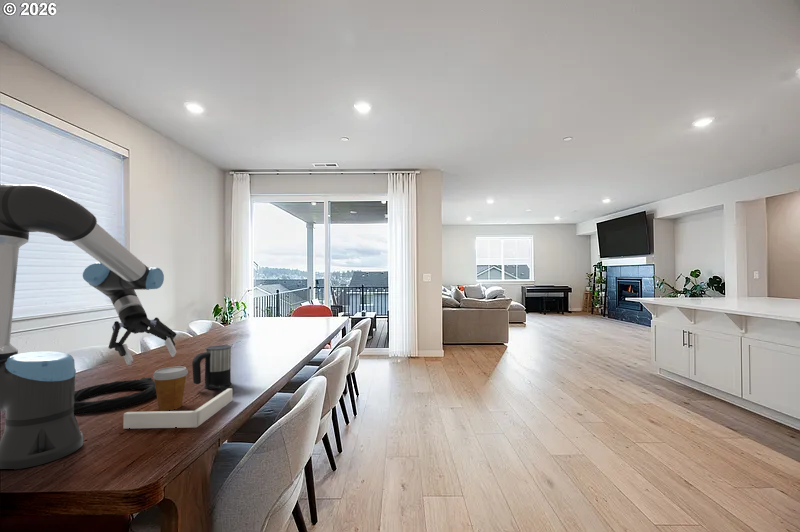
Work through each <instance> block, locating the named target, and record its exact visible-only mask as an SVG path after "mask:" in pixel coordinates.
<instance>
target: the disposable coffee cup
mask: <svg viewBox="0 0 800 532" xmlns="http://www.w3.org/2000/svg"><path fill="white" fill-rule="evenodd" d="M188 371H189V370H188V369H187V367H186V366H169V367H168V366H167V367H162V368H159V369H156V370H155V371H154V373H153V374H152V379H153V381H154V382H155V387H156V394H157V395H156V400H157V408H158V411H169V410H170V411H175V410H177V409H179V408H181V407H182V406H183V400H184V392H185V385H186V380H187V375H188V373H189V372H188ZM174 409H175V410H174Z"/></svg>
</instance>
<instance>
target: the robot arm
mask: <svg viewBox="0 0 800 532" xmlns="http://www.w3.org/2000/svg"><path fill="white" fill-rule="evenodd" d="M38 232H39V233H45V234H50V235H53V236H56V237H57V238H58V239H60V240H61V241H63V242H68V243H69V242H72V244H73V245H76V247H78V248H79V249H81V250H82V251H84V252H85V253H86V254H88V255H89V256H91V258H93V259H95V260H96V261H97V262H94V263H91V264H89V265H88V266H87V267H85V268H84V270H83V272H82V278H83V280H84V281H85V282H86V283H87V284H89V286H90V287H93V288H94V289H96V290H97V291H99V292H100V293H102V294H103V295H105V297H108V298H109V299H110V302H111V303H112V305H113V307H114V310H115V312H116V313H117V315H118V318H119V320H120V322H119V321H117V320H115V321H114V322H113V324H112V326H111V327H112V335H111V337H110V341H109V344H108V349H109V350H111V349H114V350H115V351H116V352H118V355H119V356H120V357H123V359H124V362H125V363H126V365H127V366H131V364H132V363H133V361H134V358H133V356H132V354H131V352H130V349H129V347H128V345H127V343H125V342H126V340H127V339H128V338H129V336H130V335H131V333H133V334H134V335H135V334H139V333H140V334H141V333H142V334H143V333H147V334H151V335H153V336H155V337H157V338H159V339H161V340H163V341H164V345H165V347H166V349H167V351H168V353H169V354H170V356H171V358H174V357H175V356H176V354H177V352H178V351H177V349H176V347H175V346H176V343H175V341H174V339H175V338H176V337H177V333H176V332H175V331H174V330H172V329H171V328H170V327H169V326H167V325H165V323H163V322H162V321H161V320H160V319H159V317H154V319H150V318H148V315H147V312H146V310H145V309H144V307H143V305H142V302H141V300H140V298H139V296H138V295H137V293H136V291H135V290H137V291H139V290H141V291H143V290H145V291H149V290H157V289H160V288H161V287H162V286H163V284H164V280H165V276H164V271H163V270H162V269H161V268H159V267H153V266H151V267H149V266H148V265H146V264H145V263H144V262H142V260H140V259H139V258H138V257H137V256H135V255H134V254H133V253H132V252H131V251H130V250H129V249H128V248H126V247H125V246H124V245H122V243H121V242H119V241H118V240H117V239H116V238H115V237H113V236H112V235H111V234H110V233H109V232H108V231H106V230H105V229H104V228H103V227H102V226H100V224H99V223H98V220H97V217H96V216H95V215H94V214H93V213H92V212H91V211H90V210H88V209H87V208H86V207H84V206H83V204H81V203H79V202H77V201H76V200H74V199H72V198H71V197H69V196H67V195H65V194H64V193H62V192H59V191H57V190H55V189H52V188H50V187H47V186H42V185H39V184H31V183H30V184H9V183H8V184H7V183H6V184H5V183H1V184H0V412H4V413H5V417H4V420H5V423H4V430H3V432H2V434H1V436H0V469H14V470H21V469H27V468H31V467H32V468H33V467H37V466H41V465H43V464H47V463H51V462H53V461H56V460H59V459H62V458H64V457H67V456H69V455H71V454H73V453H75V452H76V451H78V450H79V449H81V448H82V447H83V446H84V434H83V432H82V431H81V430H80V426H79V424H78V421H77V419H76V416H75V415H76V414H74V397H75V391H76V390H75V389H76V374H77V370H76V367H75V359H74V357H73V356H72V355H71V354H69V353H66V352H63V351H62V352H61V351H48V350H47V351H46V350H45V351H28V352H22V353H21V352H19V349H17V348H16V347H15V346H14V345H12V344H11V337H12V336H11V335H12V334H11V333H12V324H13V314H14V313H13V312H14V305H15V303H14V302H15V294H16V293H15V292H16V283H17V274H18V273H17V271H18V261H19V252H20V248H21V247H22V246H24V245H25V244H27V243H29V239H30V237H29V236H30V233H38ZM122 328H123V329H125V330H126V331H125V332H124V334H123V336H122V337H121V338H120V339H119V341H118V342H117V339H118V336H119V332H120V330H121V329H122Z"/></svg>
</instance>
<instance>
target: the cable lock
mask: <svg viewBox="0 0 800 532" xmlns="http://www.w3.org/2000/svg"><path fill="white" fill-rule="evenodd" d="M128 389H138V390H141V389H144V390H141V391H140V392H135V393H132V394H129V395H124V396H121V397H115V398H111V399H101V400H94V401H81V400H83V399H86V397H87V398H90V397H89V396H91V397H95V396H98V395H101V393H103V394H106V393H105V392H109V393H113V392H112V391H114V392H118V391H117V390H123V391H129V390H128ZM97 394H98V395H97ZM94 395H95V396H94ZM155 396H157V394H156V387H155V380H154V378H153V377H150V376H147V377H142V378H141V379H140V378H139V379H131V380H129V379H128V380H121V381H120V380H118V381H112V382H107V383H100V384H95V385H92V386H87V387H84V388H80V389H79V390H75V397H74V413H77V414H80V413H87V414H93V413H102V412H101V411H104V412H109V411H108V410H110V411H113V409H114V410H118V409H117V408H120V409H123V408H122V407H125V408H129V407H131V406H135V405H137V403H138V404H141V403H140V402H142V403H144V402H146V401H148V400H150V398H151V399H153V398H155ZM80 399H81V400H80ZM77 400H79V401H77ZM143 401H144V402H143ZM134 404H135V405H134ZM128 406H129V407H128Z"/></svg>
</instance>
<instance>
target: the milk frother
mask: <svg viewBox="0 0 800 532" xmlns="http://www.w3.org/2000/svg"><path fill="white" fill-rule="evenodd" d="M232 347H233V346H232V345H231V344H230V345H227V344H219V345H211V346H207V347H205V350H206V351H205V352H199V353H198V354H196V355H195V356H194V358H193V359H192V365H191V366H192V368H191V369H192V380H193V384H195V385H200V384H201V381H202V377H201V375H202V374H201V368H202V367H201V362H202V361H203V360H204V359H205V360H204V388H205V389H209V390H211V389H212V390H216V389H217V390H221V391H222V392H223V391H225V390H226V389H228V388H232V390H234V387H233V386H231V385H232V379H231V365H232V364H231V363H232V362H231V361H232V360H231V358H232V357H231V356H232V355H231V354H232Z"/></svg>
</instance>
